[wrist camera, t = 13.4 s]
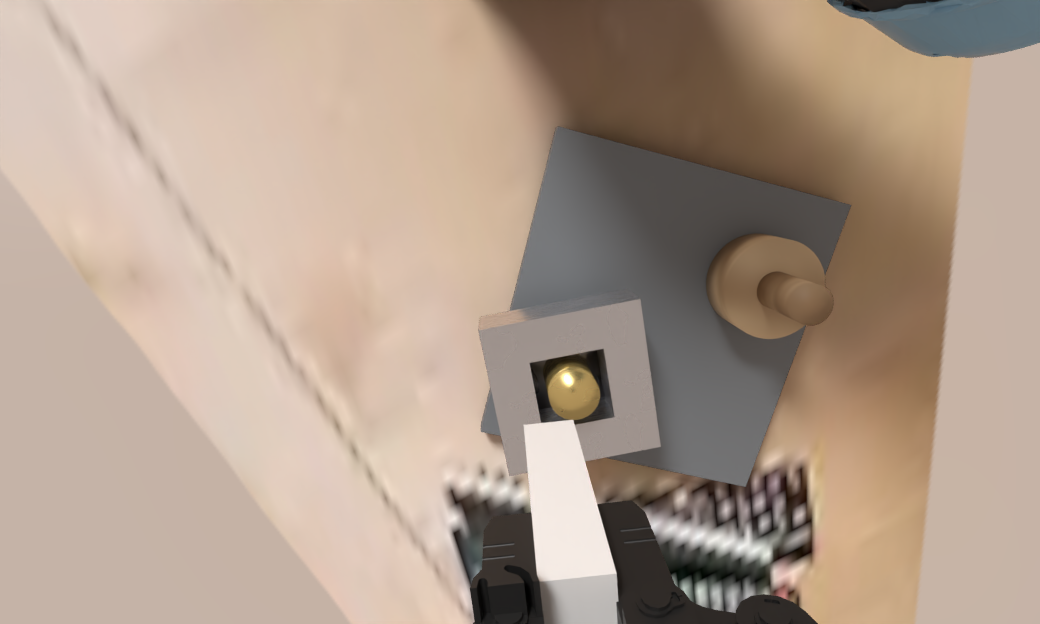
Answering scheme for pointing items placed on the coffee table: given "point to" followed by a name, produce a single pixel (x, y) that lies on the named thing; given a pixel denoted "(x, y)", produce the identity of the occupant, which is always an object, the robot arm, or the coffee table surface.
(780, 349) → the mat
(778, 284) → the stand
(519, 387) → the square hole frame
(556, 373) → the cylinder
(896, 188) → the coffee table surface
